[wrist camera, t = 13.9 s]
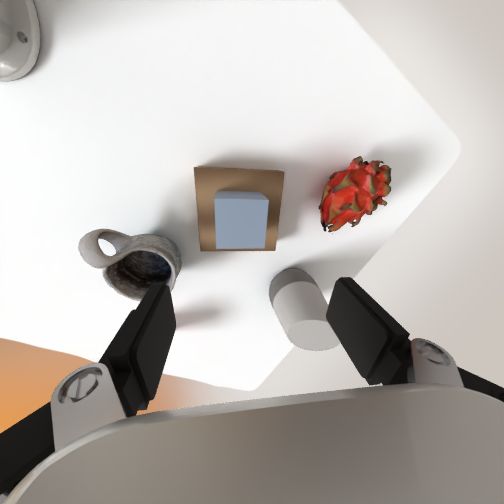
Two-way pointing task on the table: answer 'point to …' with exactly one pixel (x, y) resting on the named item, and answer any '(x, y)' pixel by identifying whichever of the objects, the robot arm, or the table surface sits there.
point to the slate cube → (240, 219)
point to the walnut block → (236, 180)
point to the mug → (132, 261)
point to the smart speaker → (302, 310)
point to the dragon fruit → (354, 193)
